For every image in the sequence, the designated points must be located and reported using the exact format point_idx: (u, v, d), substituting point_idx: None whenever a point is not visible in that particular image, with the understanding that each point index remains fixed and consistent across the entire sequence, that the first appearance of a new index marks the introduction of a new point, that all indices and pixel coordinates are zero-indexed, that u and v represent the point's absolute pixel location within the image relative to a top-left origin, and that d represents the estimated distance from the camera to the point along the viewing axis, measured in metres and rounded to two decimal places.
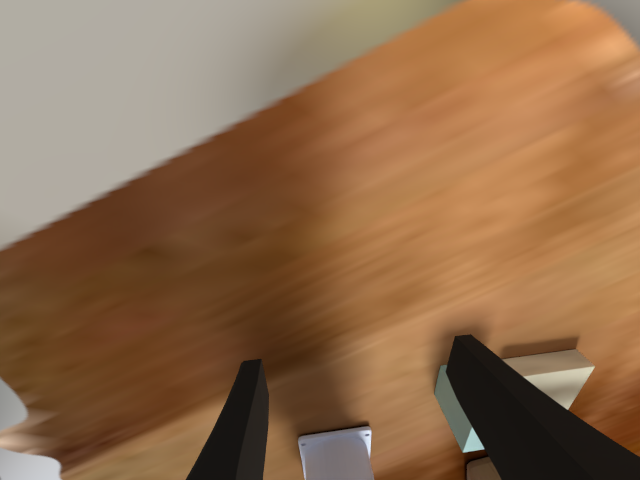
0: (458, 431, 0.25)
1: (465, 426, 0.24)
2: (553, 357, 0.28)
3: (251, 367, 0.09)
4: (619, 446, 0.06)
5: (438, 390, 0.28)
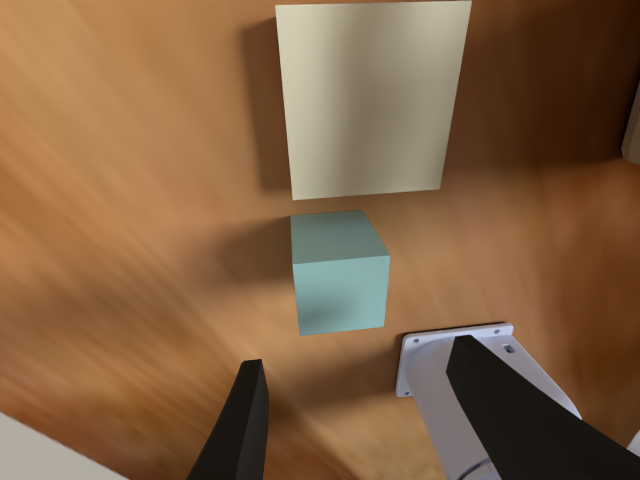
0: None
1: None
2: None
3: (251, 367, 0.09)
4: (619, 446, 0.06)
5: None
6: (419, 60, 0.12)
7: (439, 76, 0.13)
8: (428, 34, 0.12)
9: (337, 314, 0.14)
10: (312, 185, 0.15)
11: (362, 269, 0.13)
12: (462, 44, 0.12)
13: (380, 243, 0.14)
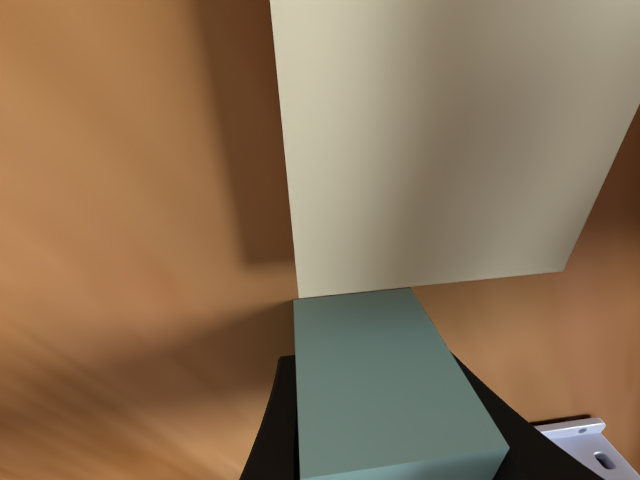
0: None
1: None
2: None
3: (289, 362, 0.09)
4: (567, 454, 0.06)
5: None
6: (585, 27, 0.06)
7: (617, 64, 0.06)
8: None
9: None
10: (336, 273, 0.08)
11: (447, 471, 0.06)
12: None
13: (473, 397, 0.07)
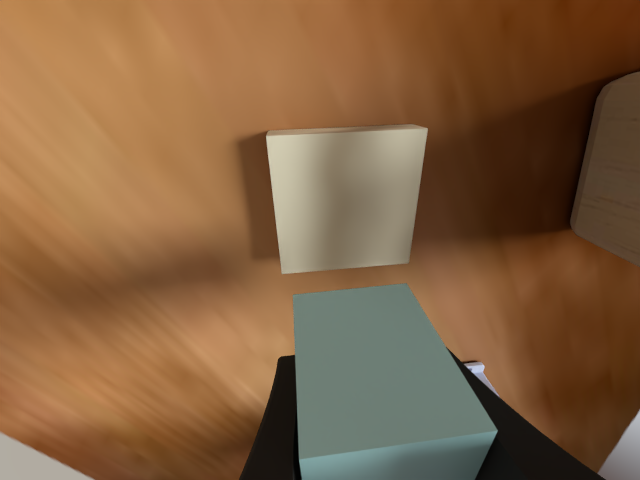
0: None
1: None
2: None
3: (289, 362, 0.09)
4: (567, 454, 0.06)
5: None
6: (386, 170, 0.15)
7: (403, 181, 0.15)
8: (392, 152, 0.14)
9: None
10: (298, 262, 0.17)
11: (438, 453, 0.07)
12: (421, 158, 0.15)
13: (464, 384, 0.07)
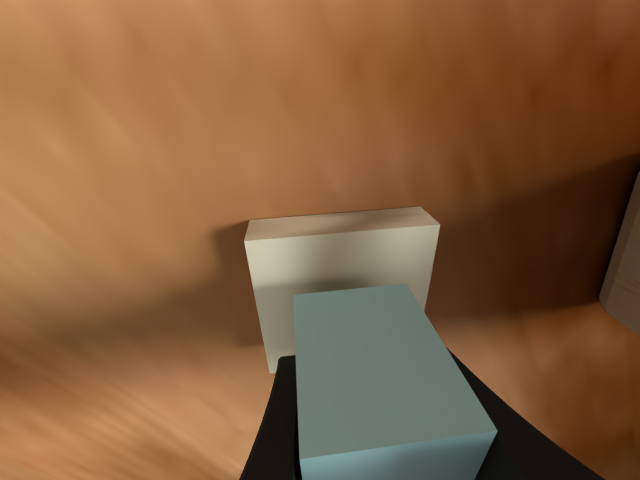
0: None
1: None
2: None
3: (289, 363, 0.09)
4: (567, 454, 0.06)
5: None
6: (390, 268, 0.12)
7: (411, 278, 0.13)
8: (398, 250, 0.12)
9: None
10: None
11: (438, 453, 0.07)
12: (432, 255, 0.12)
13: (464, 385, 0.07)
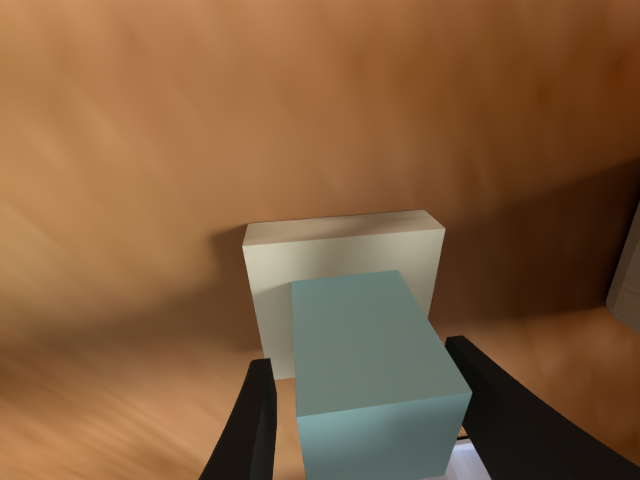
0: None
1: None
2: None
3: (260, 366, 0.09)
4: (607, 448, 0.06)
5: None
6: None
7: (414, 283, 0.12)
8: (402, 255, 0.12)
9: (371, 469, 0.09)
10: (288, 369, 0.14)
11: (420, 414, 0.07)
12: (437, 260, 0.12)
13: (445, 355, 0.08)
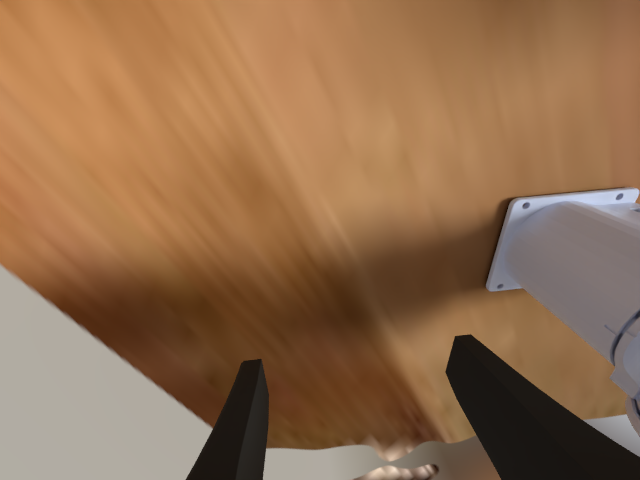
0: None
1: None
2: None
3: (251, 367, 0.09)
4: (619, 446, 0.06)
5: None
6: None
7: None
8: None
9: None
10: None
11: None
12: None
13: None
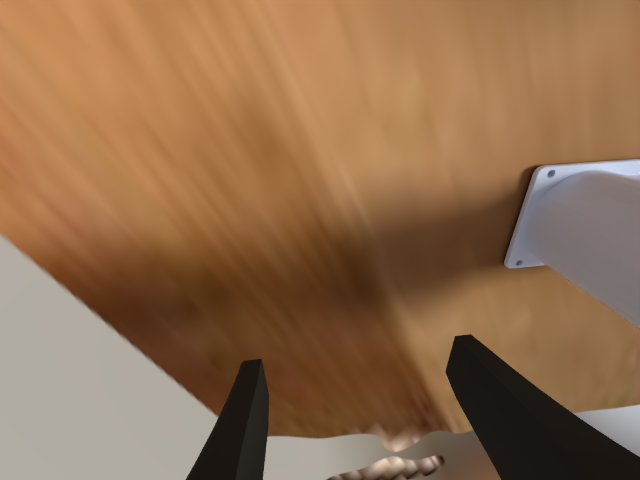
0: None
1: None
2: None
3: (251, 367, 0.09)
4: (619, 446, 0.06)
5: None
6: None
7: None
8: None
9: None
10: None
11: None
12: None
13: None
